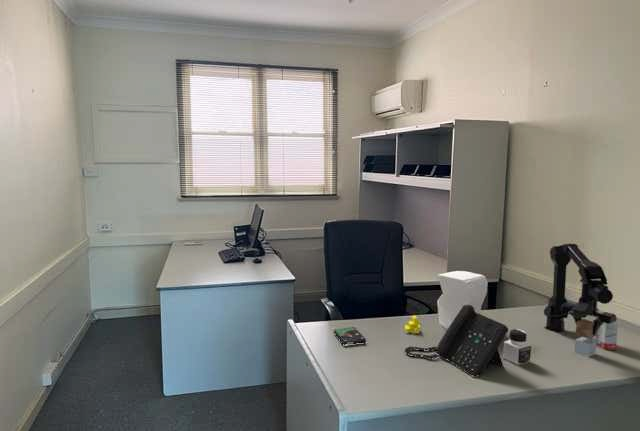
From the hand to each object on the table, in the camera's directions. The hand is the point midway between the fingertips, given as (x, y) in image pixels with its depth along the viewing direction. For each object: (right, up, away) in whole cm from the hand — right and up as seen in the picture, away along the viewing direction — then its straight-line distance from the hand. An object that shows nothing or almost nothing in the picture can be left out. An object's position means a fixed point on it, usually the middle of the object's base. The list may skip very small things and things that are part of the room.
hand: (586, 332), depth 177 cm
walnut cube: (0, -1, 0) cm, 1 cm away
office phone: (-57, -10, -6) cm, 58 cm away
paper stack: (-40, -5, +29) cm, 50 cm away
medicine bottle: (-31, -10, -6) cm, 33 cm away
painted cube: (0, -9, +1) cm, 9 cm away
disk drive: (-96, -7, +14) cm, 98 cm away
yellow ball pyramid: (-66, -6, +23) cm, 70 cm away
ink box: (+13, -8, +8) cm, 17 cm away
